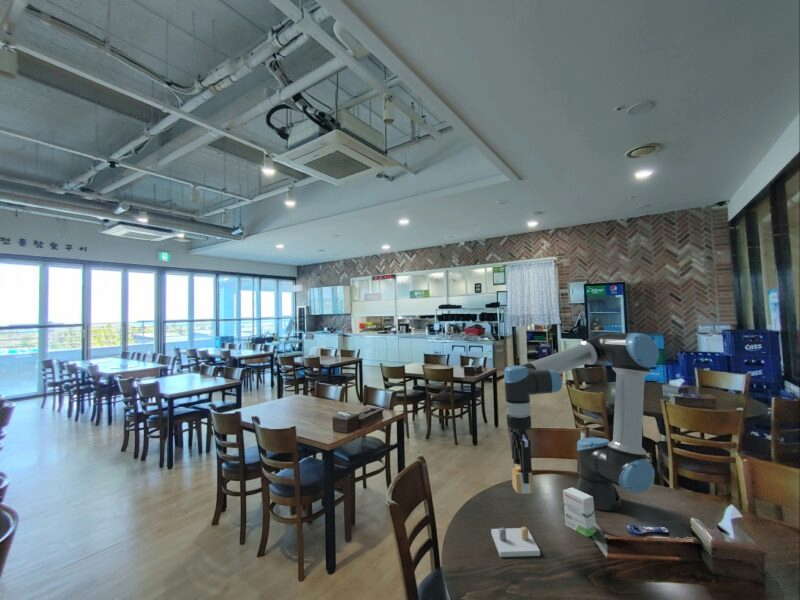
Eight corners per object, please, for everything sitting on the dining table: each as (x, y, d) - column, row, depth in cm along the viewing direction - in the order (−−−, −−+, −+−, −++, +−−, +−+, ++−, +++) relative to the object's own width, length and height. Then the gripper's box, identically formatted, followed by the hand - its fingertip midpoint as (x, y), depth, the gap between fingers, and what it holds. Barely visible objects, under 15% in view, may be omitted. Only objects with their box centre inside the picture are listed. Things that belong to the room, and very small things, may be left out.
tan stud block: (527, 485, 117) (526, 463, 117) (533, 493, 112) (531, 470, 112) (512, 486, 117) (511, 464, 118) (517, 493, 112) (515, 470, 113)
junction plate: (527, 532, 120) (526, 517, 120) (540, 555, 108) (539, 539, 108) (491, 533, 120) (490, 519, 120) (500, 557, 108) (499, 540, 108)
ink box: (597, 533, 117) (594, 496, 118) (587, 538, 115) (584, 500, 116) (574, 521, 125) (571, 486, 126) (564, 525, 123) (561, 489, 124)
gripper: (499, 408, 125) (503, 477, 124) (515, 422, 107) (519, 503, 106) (521, 407, 125) (525, 476, 123) (540, 421, 107) (545, 502, 105)
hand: (523, 488), depth 114 cm, fingers closed on tan stud block, 5 cm apart
